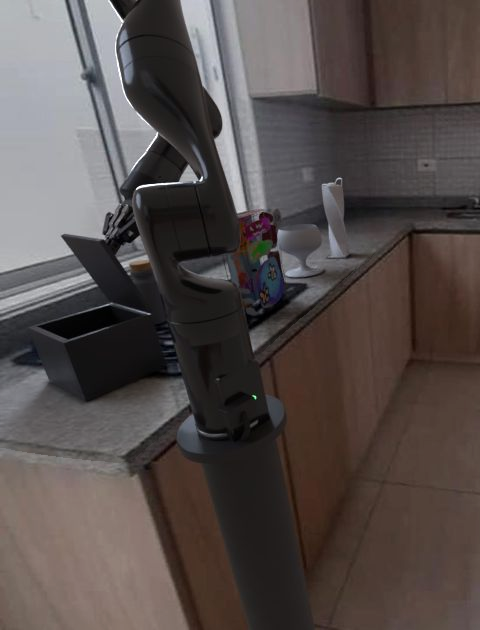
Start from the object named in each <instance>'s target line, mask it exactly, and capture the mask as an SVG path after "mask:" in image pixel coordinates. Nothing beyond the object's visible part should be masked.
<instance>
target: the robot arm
mask: <svg viewBox="0 0 480 630" xmlns="http://www.w3.org/2000/svg"><path fill="white" fill-rule="evenodd" d="M108 2H109V3H110V5H111V7H112V8H113V10H114V11H115V13H116V14H117V16H118V17H119V19H120V21H121V22H122V23H121V25H120V27H119V29H118V32H117V34H116V38H115V44H114V45H115V46H114V50H115V51H114V52H115V56H116V63H117V67H118V68H117V69H118V73H119V78H120V82H121V85H122V91H123V94H124V96H125V99H126V100H127V102H128V103H129V105H130V106H131V107H132V109H133V110H134V112H136V114H137V115H138V116H139V117H140V118H141V120H143V121H144V122H145V123H146V124H147V125H148V126H149V127H150V128H152V129H153V130H154V131H155V132H156V136H155V137H154V139H153V140H152V142H151V143H150V145H149V146H148V148H147V149H146V150H145V152H144V153H143V155H142V156H141V157H140V158H138V160H137V161H136V163H135V164H134V165H133V167H132V168H131V170H130V171H129V173H128V175H127V176H126V177H125V179H124V180H123V182H122V184H121V185H120V187H119V188H118V190H119V193H120V195H121V196H123V199H124V200H123V201H122V202H121V203H119V205H117V207H116V208H115V209H114V213H113V212H111V211H108V212H106V214H105V216H104V222H103V226H102V231H101V235H102V236H104V240H105V241H106V243H107V244H108V246H109V247H110V249H111V250H112V252H113V253H114V255H115V256H116V255H117V253H118V252H119V251H120V249H121V248H122V247H123V246H125V245H126V244H131V243H133V242H134V241H135V240H136V239H138V237H140V239H141V241H142V245H143V247H144V250H145V252H146V256H147V258H148V259H147V260H149V261H150V264H151V267H152V270H153V274H154V276H155V280H156V283H157V287H158V290H159V294H160V297H161V301H162V305H163V308H164V312H165V316H166V320H167V321H166V324H167V327H168V330H169V333H170V337H171V341H172V345H173V349H174V352H175V356H176V359H177V363H178V366H179V370H180V374H181V378H182V381H183V385H184V387H185V391H186V394H187V399H188V402H189V405H188V407H187V408H188V412H189V415H192V414H193V416H194V419H195V426H196V429H197V433H198V435H199V436H200V437H202V438H203V439H206V440H211V441H222V440H231V441H233V442H235V441H237V440H238V439H240V438H241V440H242V441H246V440H247V438H248V436H249V434H250V432H251V431H252V430H254V429H255V428H257V427H258V426H260V425H261V424H263V423H265V422H266V421H268V420H269V419H270V415H269V410H268V405H267V400H266V395H267V394H266V389H265V385H264V381H263V376H262V372H261V366H260V363H259V360H257V359H255V355H254V350H253V345H252V341H251V336H250V335H251V334H250V330H249V325H248V319H247V316H246V310H245V308H244V306H243V301H242V296H241V292H240V289H239V287H238V286H237V285H236V284H235V283H233V282H231V280H228V279H222V278H216V277H209V276H205V275H201V274H198V273H195V272H193V271H191V270H189V269H187V268H186V267H184V266H183V265H182V264H181V263H182V262H190V261H197V260H203V259H210V258H216V257H217V258H218V257H222V256H224V257H225V256H226V255H229V254H232V253H234V252H236V251H237V250H238V249H239V247H240V242H241V231H240V224H239V220H238V215H239V214H238V212H237V208H236V205H235V202H234V198H233V195H232V191H231V188H230V186H229V181H228V179H227V177H226V173H225V169H224V167H223V164H222V161H221V157H220V154H219V151H218V148H217V145H216V141H215V140H216V139H217V138H218V137H219V136H220V135H221V133H222V131H223V123H224V122H223V117H222V113H221V111H220V109H219V107H218V105H217V103H216V102H215V101H214V99H213V98H212V96H211V95H210V93H209V92H208V90H207V89H206V88H205V87H204V85H203V81H202V78H201V74H200V73H201V72H200V69H199V65H198V61H197V59H196V55H195V51H194V48H193V44H192V41H191V37H190V34H189V31H188V27H187V24H186V20H185V16H184V11H183V7H182V6H183V5H182V1H181V0H108ZM188 166H189V167H190V169H191V171H192V172H193V173H194V175H195V176H196V178H197V180H194V181H193V180H192V181H180V180H181V178H182V176H183V175H184V173H185V171H186V169H187V168H188ZM246 319H247V320H246Z"/></svg>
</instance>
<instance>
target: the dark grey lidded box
mask: <svg viewBox="0 0 480 630" xmlns="http://www.w3.org/2000/svg"><path fill="white" fill-rule="evenodd" d="M27 330H28V333H29V335H30V337H31V340H32V342H33V345H34V348H35V350H36V352H37V355H38V357H39V360H40V362H41V365H42V367H43V369H44V373H45V375H46V377H47V379H48V382H50V383H52V384H53V385H55V386H57V387H59V388H61V389H63V390H64V391H66V392H68V393H69V394H71V395H73V396H76V397H77V398H78V399H80V400H82V401H84V402H90V401H92V400H93V399H96V398H99V397H100V396H103V395H105V394H107V393H110V392H112V391H115V390H117V389H119V388H122V387H124V386H126V385H128V384H131V383H133V382H135V381H137V380H140V379H142V378H144V377H147V376H149V375H151V374H154V373H156V372H158V371H160V370H163V369H166V368H167V363H166V359H165V356H164V352H163V348H162V346H161V342H160V339H159V334H158V331H157V329H156V324H155V325H154V321H153V318H152V314H149V313H146V312H142V311H140V310H137V309H134V308H130V307H127V306H123V305H120V304H116V303H113V302H109V303H106V304H102V305H100V306H96V307H93V308H88V309H86V310H82V311H78V312H75V313H72V314H69V315H65V316H62V317H58V318H55V319H51V320H48V321H44V322H41V323H37V324H34V325H31V326H27Z"/></svg>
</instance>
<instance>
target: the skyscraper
mask: <svg viewBox="0 0 480 630" xmlns="http://www.w3.org/2000/svg"><path fill="white" fill-rule="evenodd" d="M338 180H340V184H337V181H338ZM321 194H322V195H321V196H322V202H323V208H324V212H325V216H326V220H327V224H328V243H329V252H330V254H329V255H328V256H327V257H326V259H327V260H337V259H338V260H339V259H347V257H349V256H350V255H351V252H350V249H349V242H348V235H347V228H346V225H345V221H344V219H345V218H344V217H345V199H344V198H345V197H344V188H343V178H342V177H337V178H336V179H335V180H334V182H327V183H322V184H321Z"/></svg>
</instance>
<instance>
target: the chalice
mask: <svg viewBox="0 0 480 630" xmlns="http://www.w3.org/2000/svg"><path fill="white" fill-rule="evenodd" d="M277 230H278V231H277V237H278V239H277V240H278V242H279V240H280V242H279V244H278V243H277V247H278V248H279V247H280V246H281V248H280V249H279V251H280V252H282V253H285V254H288V255H290V256H292V257H294V258H296V259H297V260H298V261H299V267H295V268H292V269H289V270H287V271H286V272H285V273H284V275H285V277H290V278H306V277H307V278H308V277H312V276H316V275H318V274H320V273H323V271H324V269H323V268H322V267H320V266H311V265H310V266H309V265H308V264H307V259H308V258H309V256H310V255H311V254H313V253H314V252H316V251H317V250H318V249H320V247H321V245H322V243H323V237H322V234H321V231H320V228H319V227H318V226H317V225H316V224H312V223H300V224H299V223H298V224H290V225H285V226H281V227H279V228H278V229H277ZM278 234H279V236H278Z"/></svg>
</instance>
